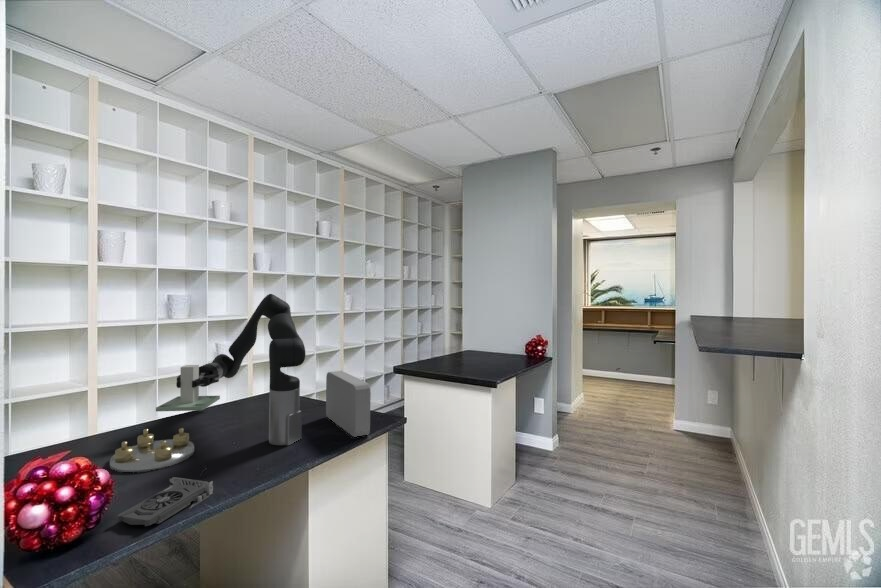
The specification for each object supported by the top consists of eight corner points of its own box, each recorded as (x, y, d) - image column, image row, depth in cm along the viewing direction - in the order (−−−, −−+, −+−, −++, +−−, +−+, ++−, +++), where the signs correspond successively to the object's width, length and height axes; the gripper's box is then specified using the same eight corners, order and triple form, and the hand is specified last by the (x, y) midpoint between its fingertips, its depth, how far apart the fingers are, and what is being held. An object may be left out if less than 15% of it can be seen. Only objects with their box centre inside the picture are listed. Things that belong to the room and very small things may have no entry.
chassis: (205, 443, 130) (206, 422, 130) (172, 471, 110) (173, 447, 110) (137, 445, 127) (137, 424, 127) (91, 474, 107) (91, 449, 107)
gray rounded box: (376, 436, 139) (377, 383, 139) (355, 440, 135) (356, 386, 134) (344, 413, 162) (345, 368, 162) (325, 417, 158) (326, 370, 158)
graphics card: (173, 474, 102) (214, 479, 99) (173, 489, 102) (214, 495, 99) (103, 511, 85) (149, 518, 83) (104, 529, 86) (150, 536, 83)
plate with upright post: (219, 398, 147) (220, 362, 146) (202, 410, 133) (202, 369, 133) (178, 399, 145) (178, 362, 145) (155, 411, 131) (155, 370, 131)
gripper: (187, 364, 152) (162, 373, 135) (228, 363, 154) (208, 373, 137) (187, 384, 152) (162, 396, 135) (228, 383, 154) (208, 395, 137)
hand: (185, 384), depth 136 cm, fingers closed on plate with upright post, 4 cm apart
